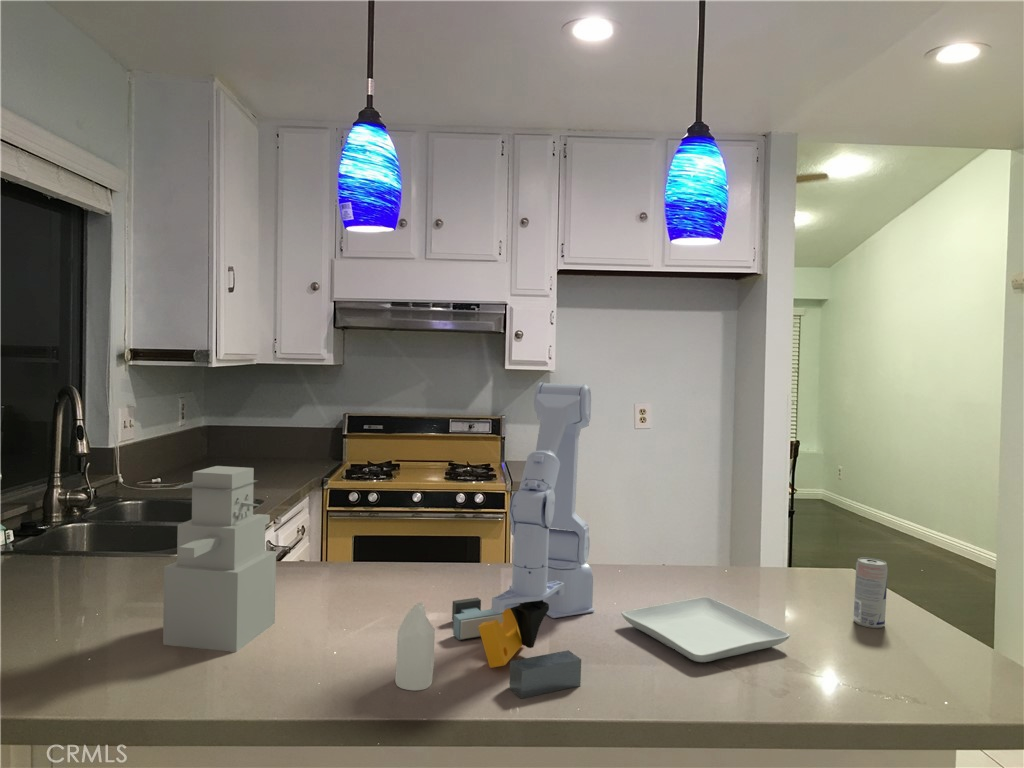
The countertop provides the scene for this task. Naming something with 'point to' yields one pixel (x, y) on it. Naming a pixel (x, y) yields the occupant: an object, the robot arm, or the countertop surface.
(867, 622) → the energy drink
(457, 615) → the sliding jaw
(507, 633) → the pipe clamp
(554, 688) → the block
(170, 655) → the countertop surface
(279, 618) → the countertop surface
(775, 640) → the salad plate
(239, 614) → the stacked tiered boxes
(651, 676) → the countertop surface
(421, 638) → the pale white bottle
